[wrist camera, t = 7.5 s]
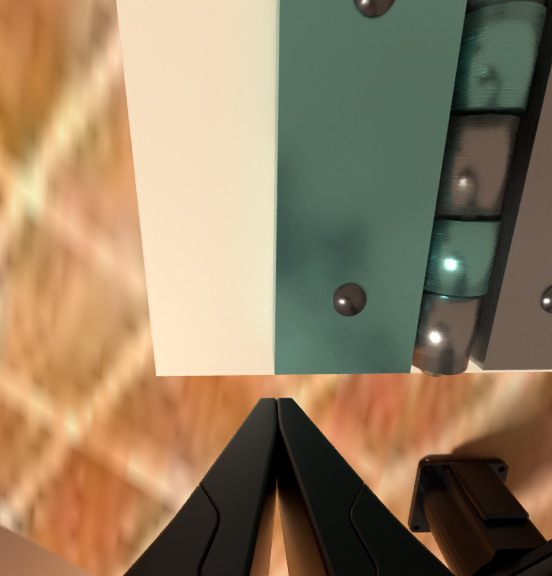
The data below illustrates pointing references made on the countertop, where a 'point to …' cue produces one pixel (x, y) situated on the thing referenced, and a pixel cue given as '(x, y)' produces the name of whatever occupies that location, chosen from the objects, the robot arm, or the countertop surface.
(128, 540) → the countertop surface
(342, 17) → the teal hinge leaf
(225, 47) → the cream base board
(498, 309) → the graphite hinge leaf
